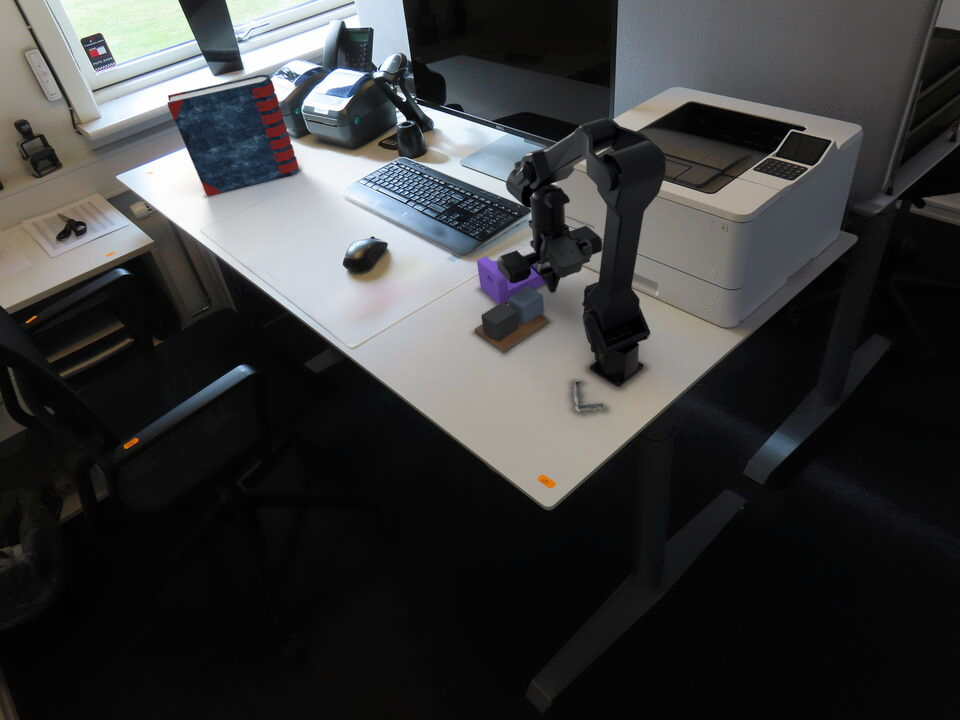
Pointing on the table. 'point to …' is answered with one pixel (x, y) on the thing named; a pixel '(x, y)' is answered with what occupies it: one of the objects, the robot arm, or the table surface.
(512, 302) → the blue-grey block
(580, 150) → the robot arm
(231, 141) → the book
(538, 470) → the table surface
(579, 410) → the bent metal strip
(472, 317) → the table surface
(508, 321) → the dark grey cube
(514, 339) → the brown wooden board
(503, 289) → the bracket
